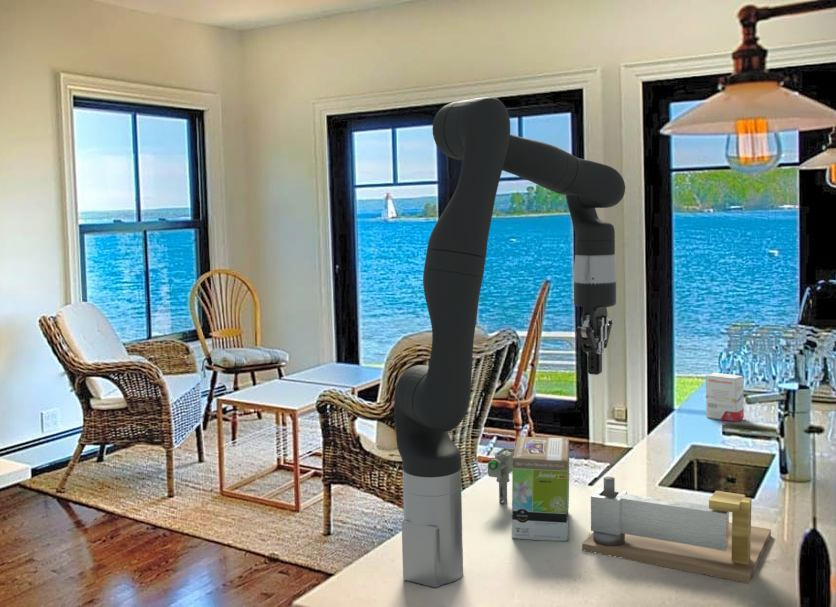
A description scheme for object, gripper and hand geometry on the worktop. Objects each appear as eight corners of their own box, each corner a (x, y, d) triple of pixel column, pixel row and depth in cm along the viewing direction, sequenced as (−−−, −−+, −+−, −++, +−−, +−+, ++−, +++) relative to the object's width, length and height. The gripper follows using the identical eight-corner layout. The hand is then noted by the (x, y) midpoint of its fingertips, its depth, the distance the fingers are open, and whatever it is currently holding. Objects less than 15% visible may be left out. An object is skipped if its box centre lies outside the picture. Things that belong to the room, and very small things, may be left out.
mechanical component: (486, 510, 161) (485, 460, 160) (505, 494, 170) (505, 446, 169) (500, 513, 160) (499, 461, 158) (519, 496, 169) (519, 447, 167)
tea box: (569, 542, 145) (568, 459, 143) (510, 540, 147) (509, 457, 145) (569, 511, 160) (569, 435, 158) (516, 509, 161) (515, 434, 160)
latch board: (748, 583, 128) (750, 507, 126) (582, 550, 141) (581, 481, 140) (770, 535, 145) (772, 468, 144) (620, 510, 159) (621, 449, 158)
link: (590, 530, 141) (590, 496, 141) (599, 521, 145) (599, 487, 145) (724, 553, 131) (725, 516, 130) (729, 542, 135) (730, 506, 134)
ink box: (744, 419, 224) (745, 375, 223) (736, 422, 221) (736, 378, 219) (713, 414, 230) (714, 371, 229) (704, 417, 227) (705, 374, 226)
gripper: (602, 283, 145) (602, 382, 147) (626, 277, 156) (626, 369, 158) (561, 282, 149) (562, 378, 150) (587, 276, 160) (587, 366, 162)
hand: (595, 373), depth 154 cm, fingers closed
